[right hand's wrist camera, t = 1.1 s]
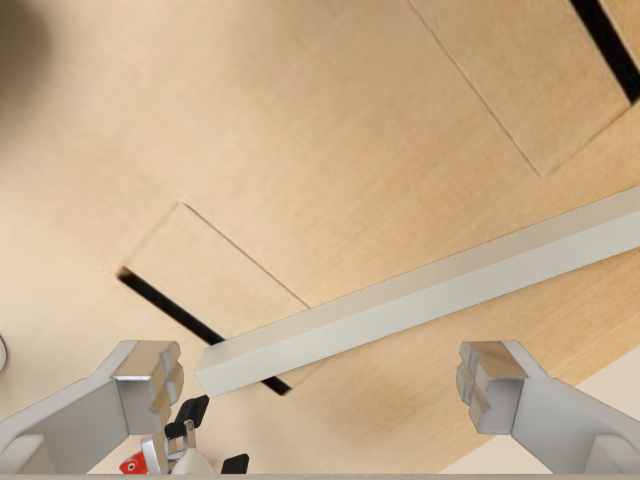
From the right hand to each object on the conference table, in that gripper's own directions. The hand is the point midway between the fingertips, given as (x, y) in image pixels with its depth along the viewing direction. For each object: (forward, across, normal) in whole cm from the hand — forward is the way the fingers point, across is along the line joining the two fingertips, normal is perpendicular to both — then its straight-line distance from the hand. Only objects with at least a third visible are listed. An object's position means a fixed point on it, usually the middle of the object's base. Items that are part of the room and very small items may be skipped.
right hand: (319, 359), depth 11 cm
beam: (+39, -13, +18) cm, 45 cm away
